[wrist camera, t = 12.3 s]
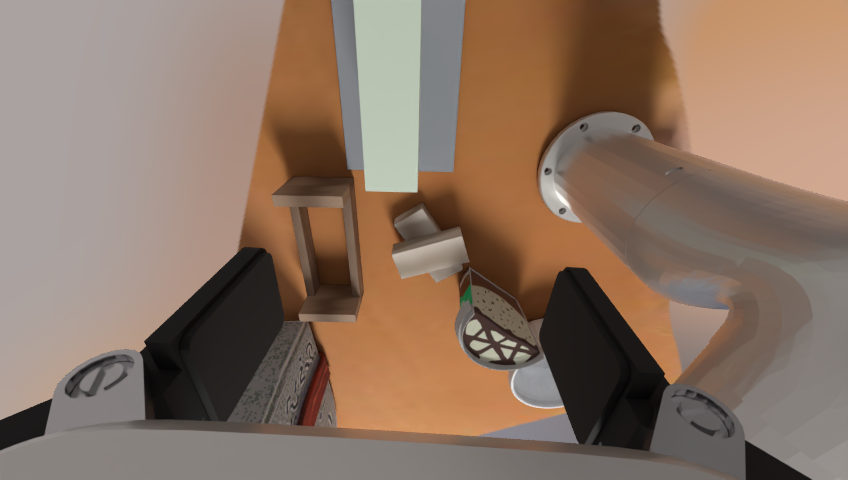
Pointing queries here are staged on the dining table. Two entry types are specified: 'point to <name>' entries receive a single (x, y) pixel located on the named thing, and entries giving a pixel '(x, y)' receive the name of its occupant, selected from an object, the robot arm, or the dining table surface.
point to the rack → (299, 195)
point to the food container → (494, 326)
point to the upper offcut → (430, 253)
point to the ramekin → (535, 380)
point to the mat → (436, 89)
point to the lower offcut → (422, 233)
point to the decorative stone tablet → (289, 384)
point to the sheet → (389, 91)
